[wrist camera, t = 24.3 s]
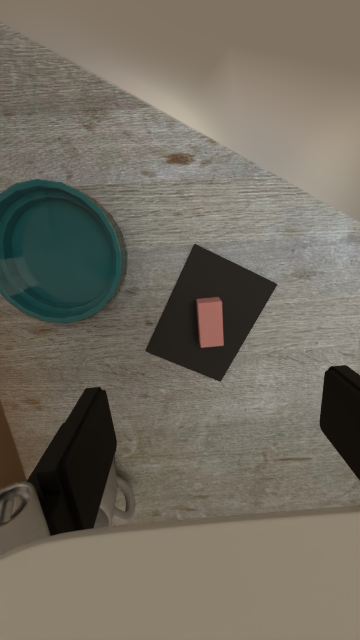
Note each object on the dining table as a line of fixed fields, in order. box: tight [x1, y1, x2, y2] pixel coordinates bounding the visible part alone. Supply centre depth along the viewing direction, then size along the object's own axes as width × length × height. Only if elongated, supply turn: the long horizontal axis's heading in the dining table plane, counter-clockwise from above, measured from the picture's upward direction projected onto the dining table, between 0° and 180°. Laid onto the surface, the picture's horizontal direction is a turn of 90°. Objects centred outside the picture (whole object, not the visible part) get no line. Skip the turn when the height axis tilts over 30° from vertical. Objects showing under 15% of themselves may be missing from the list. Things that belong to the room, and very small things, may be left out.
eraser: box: [196, 297, 224, 348], centre depth 32 cm, size 6×3×2 cm, turn 5°
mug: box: [94, 458, 135, 528], centre depth 37 cm, size 12×9×10 cm
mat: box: [146, 244, 277, 381], centre depth 33 cm, size 16×12×1 cm
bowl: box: [0, 179, 127, 323], centre depth 29 cm, size 15×15×4 cm
